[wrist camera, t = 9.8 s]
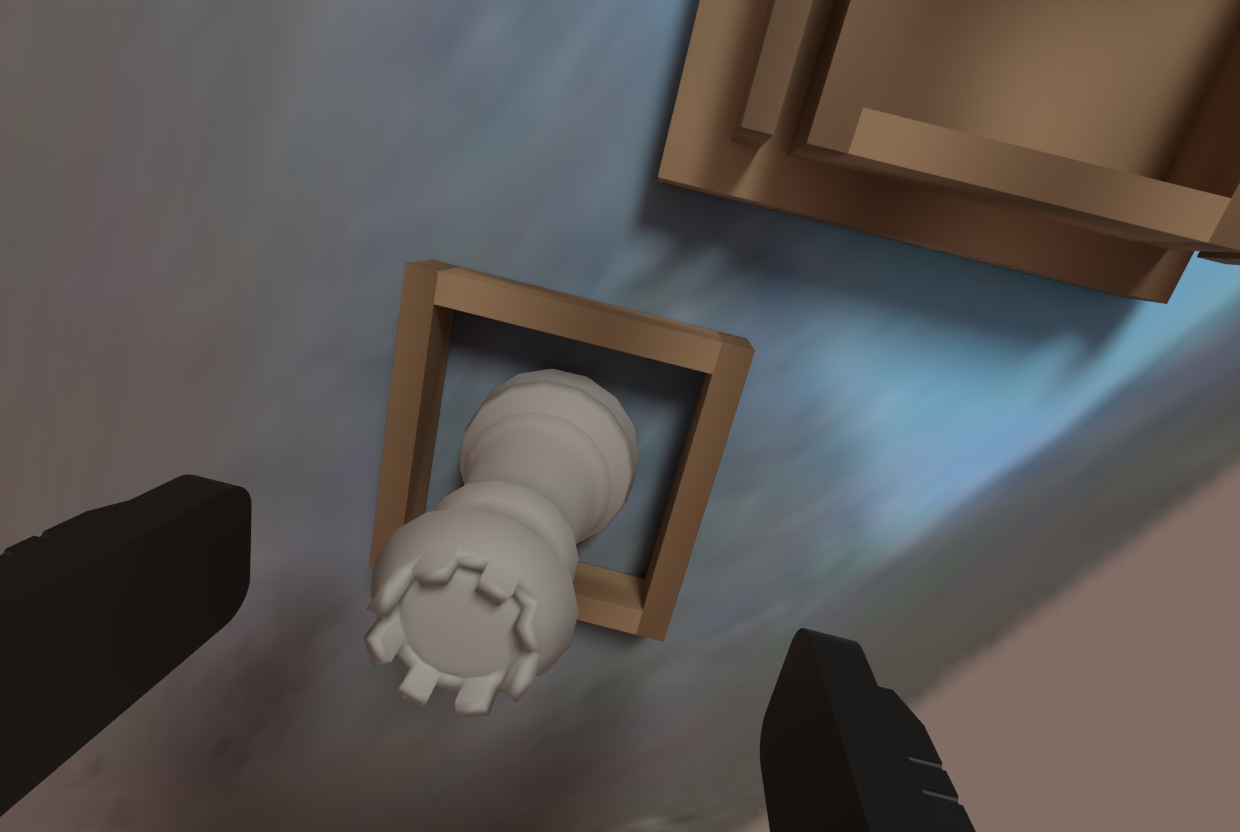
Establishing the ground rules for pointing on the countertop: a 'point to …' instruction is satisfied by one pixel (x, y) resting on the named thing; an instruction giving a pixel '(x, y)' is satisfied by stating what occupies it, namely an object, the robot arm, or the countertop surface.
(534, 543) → the rook chess piece
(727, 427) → the wooden square frame
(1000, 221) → the shallow wooden box
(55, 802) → the countertop surface
